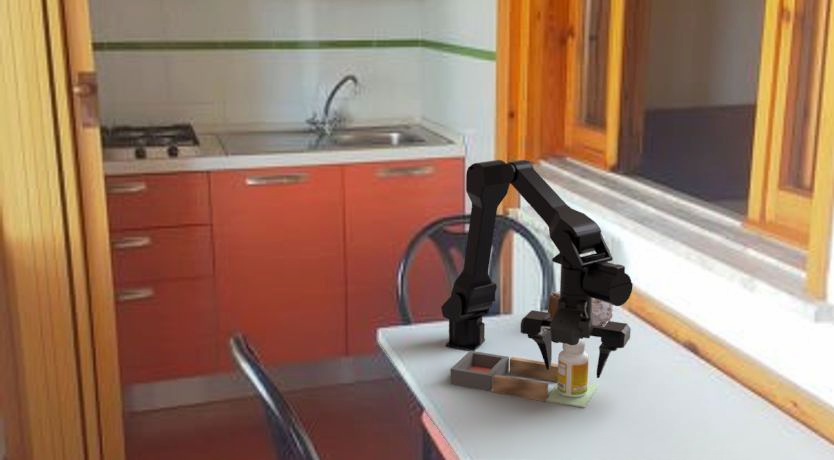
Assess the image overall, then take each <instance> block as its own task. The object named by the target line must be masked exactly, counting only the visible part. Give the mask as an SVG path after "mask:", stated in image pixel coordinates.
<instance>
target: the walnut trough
mask: <svg viewBox="0 0 834 460" xmlns="http://www.w3.org/2000/svg"><path fill="white" fill-rule="evenodd" d="M509 375H515V376H522V377H527V378H532V379H538V380H539V379H540V380H544V381H545V380H546V381H551V382H557V383H558V363H552V362H551V368H550V369H549V370H547V369H546V366H545V363H544V361H541V360H533V359H526V358H521V357H514V356H511V357H509ZM492 393H497V394H502V395H507V396H512V397H519V398H523V399H524V398H525V399H529V400H536V401H540V402H541V401H542V402H547V401H546V399H547V397H548V396H549V394H548V393H549V383H548V382H542V381H537V380H529V379H524V378H519V377H512V376H506V375H505V376H502V375H496V374H495V375H494V376H493V389H492Z"/></svg>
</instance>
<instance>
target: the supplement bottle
mask: <svg viewBox="0 0 834 460" xmlns="http://www.w3.org/2000/svg"><path fill="white" fill-rule="evenodd" d="M561 347H562V350H561V351H560V352H559V353H558V356H557V357H558V358H557V359H558V360H557V361H558V362H557V364H558V382H557V385H556V386H557V390H558V392H559V393H560V394H561V395H563V396H566V397H581V396H584V395H585V394H586V393H587V387H588V383H589V382H588V381H589V355H588V353H586V352H585V350H586V342H585V341H584V339H579V342H578V344H576V345H569V344H566V343H562V346H561Z"/></svg>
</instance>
